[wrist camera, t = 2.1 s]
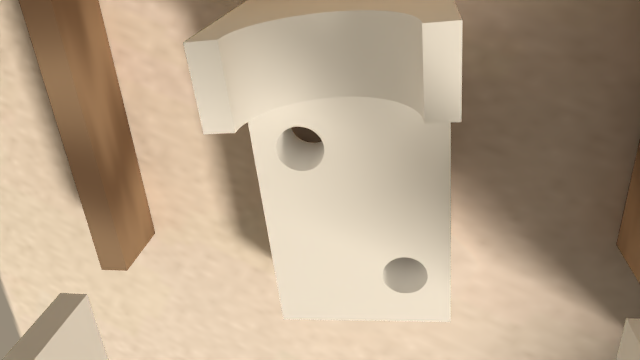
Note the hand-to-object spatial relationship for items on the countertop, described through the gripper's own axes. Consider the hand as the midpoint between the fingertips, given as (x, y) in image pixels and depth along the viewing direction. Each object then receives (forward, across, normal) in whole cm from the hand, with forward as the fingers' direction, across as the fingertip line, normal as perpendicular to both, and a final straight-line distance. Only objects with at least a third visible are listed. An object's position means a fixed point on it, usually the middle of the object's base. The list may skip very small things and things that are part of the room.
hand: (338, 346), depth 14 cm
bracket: (+11, 0, +1) cm, 11 cm away
